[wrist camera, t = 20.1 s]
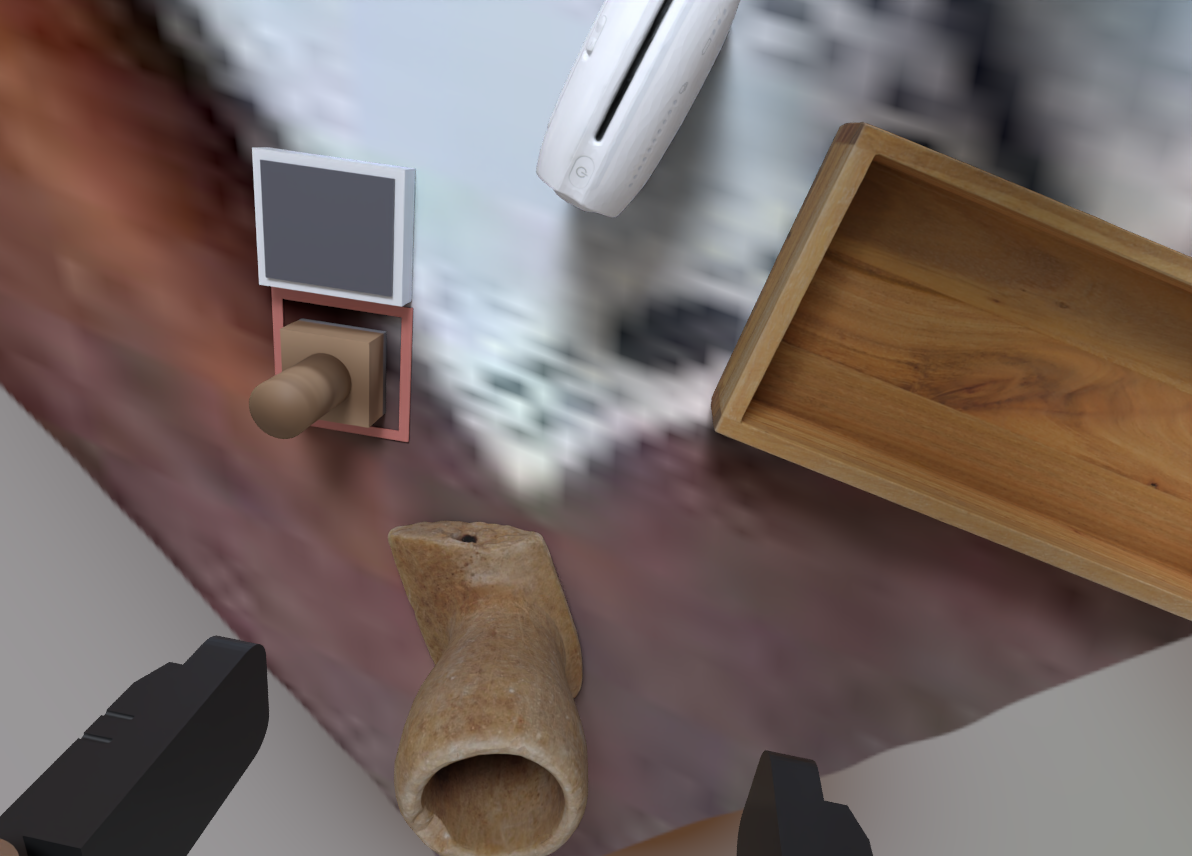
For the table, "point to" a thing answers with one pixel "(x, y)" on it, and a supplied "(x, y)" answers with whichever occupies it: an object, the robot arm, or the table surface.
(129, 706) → the robot arm
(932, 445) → the tray
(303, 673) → the table surface
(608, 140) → the photo printer
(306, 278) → the ink pad
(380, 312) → the marked square
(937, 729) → the table surface
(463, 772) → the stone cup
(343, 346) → the hand stamp
